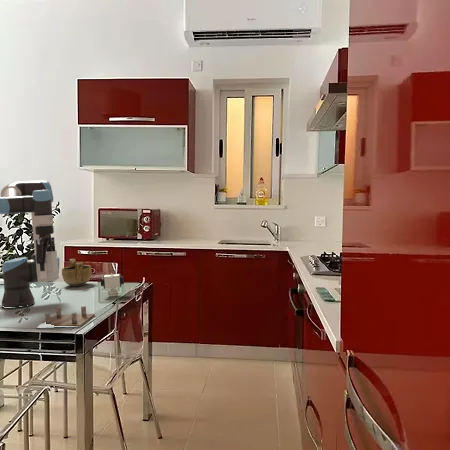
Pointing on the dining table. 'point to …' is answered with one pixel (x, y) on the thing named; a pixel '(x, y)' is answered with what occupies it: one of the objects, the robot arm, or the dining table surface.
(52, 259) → the supplement box
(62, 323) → the stub plate
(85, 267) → the tan woven basket
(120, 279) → the pneumatic valve
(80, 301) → the dining table surface
